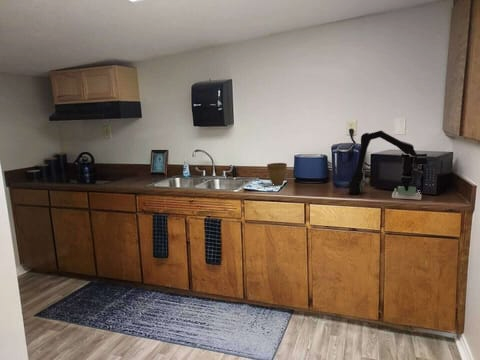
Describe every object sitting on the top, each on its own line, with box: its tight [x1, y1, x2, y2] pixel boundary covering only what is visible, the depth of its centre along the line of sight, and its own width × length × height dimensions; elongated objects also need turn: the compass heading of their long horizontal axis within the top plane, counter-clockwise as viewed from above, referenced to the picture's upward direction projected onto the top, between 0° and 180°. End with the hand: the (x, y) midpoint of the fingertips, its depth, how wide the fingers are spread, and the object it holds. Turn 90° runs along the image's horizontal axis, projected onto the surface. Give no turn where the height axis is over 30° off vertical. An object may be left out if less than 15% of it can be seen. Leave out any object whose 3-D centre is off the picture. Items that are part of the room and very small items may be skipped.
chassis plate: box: [391, 187, 422, 201], centre depth 218 cm, size 16×12×4 cm
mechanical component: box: [359, 176, 371, 193], centre depth 235 cm, size 3×10×10 cm, turn 36°
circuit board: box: [397, 185, 417, 194], centre depth 218 cm, size 10×6×3 cm, turn 64°
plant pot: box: [266, 162, 288, 186], centre depth 269 cm, size 15×15×16 cm
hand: (406, 189), depth 218 cm, fingers closed on circuit board, 6 cm apart
